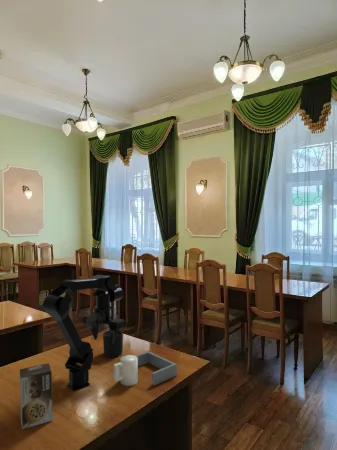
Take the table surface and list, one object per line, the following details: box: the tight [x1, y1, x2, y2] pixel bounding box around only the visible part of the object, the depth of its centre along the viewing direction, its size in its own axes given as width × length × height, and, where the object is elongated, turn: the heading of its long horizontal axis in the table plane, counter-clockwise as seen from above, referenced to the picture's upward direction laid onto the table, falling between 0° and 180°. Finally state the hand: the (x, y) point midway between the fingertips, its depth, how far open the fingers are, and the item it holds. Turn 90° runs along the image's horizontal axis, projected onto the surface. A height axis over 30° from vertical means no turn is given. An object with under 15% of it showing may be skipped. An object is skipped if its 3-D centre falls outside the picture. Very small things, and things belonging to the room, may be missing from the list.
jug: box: [113, 354, 139, 387], centre depth 125 cm, size 10×7×9 cm
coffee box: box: [19, 363, 54, 430], centre depth 102 cm, size 9×6×16 cm
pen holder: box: [102, 329, 124, 358], centre depth 153 cm, size 9×9×10 cm
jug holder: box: [135, 350, 178, 386], centre depth 134 cm, size 12×18×4 cm, turn 43°
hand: (103, 341), depth 136 cm, fingers open, 9 cm apart
